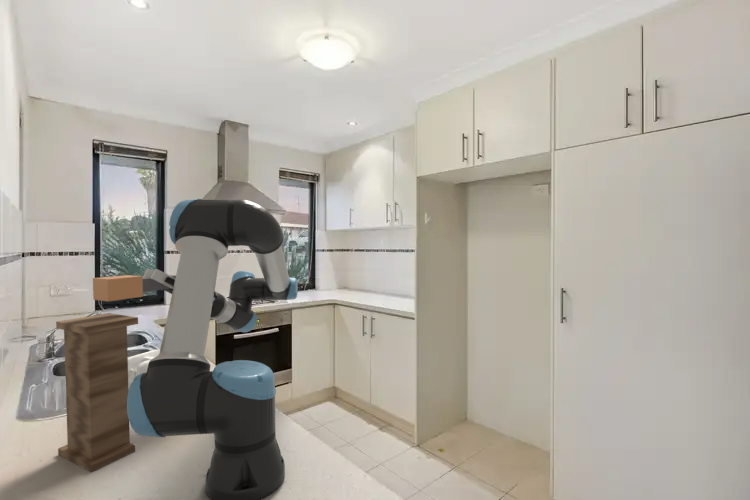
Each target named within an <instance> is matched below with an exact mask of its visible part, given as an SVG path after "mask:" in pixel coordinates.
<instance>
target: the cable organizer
mask: <svg viewBox="0 0 750 500" xmlns="http://www.w3.org/2000/svg"><path fill="white" fill-rule="evenodd" d="M159 353H160V349H152V350H150V351H146V352H143V353H137V354H135V355H132V356H128V390H129V388H130V385H131V383H132V382H133V379H134V378H135V377H136V376H137V375H139V374H142V373H146V372H147V369H148V364H149V361H150V360H152V359H153V358H155V357H156V356H158V355H159Z"/></svg>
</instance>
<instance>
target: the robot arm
mask: <svg viewBox="0 0 750 500" xmlns="http://www.w3.org/2000/svg"><path fill="white" fill-rule="evenodd" d="M170 214H171V215H170V217H169V223H168V224H169V227H170V228H169V229H168V230H169V231H168V233H169V238H170V241H171V242H172V243H173V244H174V246H175V249H176V251H177V252H178V253H179V255H180V256H179V260H178V263H177V264H178V265H177V268H176V273H175V275H176V278H174V277H172V276H170V275H171V274H168V273H166V272H164V271H162V270H160V269H158V268H155V269H154V270H153V269H151V268H146V270H145V272H144V274H143V275H142V278H149V277H151V279H153V280H155V281H157V282H159V283H161V284H163V285H165V286H167V287H169V288H170V289H163V290H160V291H163V292H167V293H169V294H171V296H170V303H169V307H168V311H167V314H166V315H167V317H166V320H165V326H164V331H163V335H162V339H161V343H160V349H159V350H160V353H159V355H158V356H156V357H155V358H153V359H152V360H150V361H149V364H148V369H147V372H146V373H142V374H139V375H137V376H136V377H135V378H134V379H133V382H132V383H131V385H130V388H129V391H128V397H127V414H128V419H129V426H131V429H132V430H133V432H134V433H136V434H137V435H138V436H142V437H158V438H165V437H171V436H172V437H175V436H188V435H189V436H190V435H207V434H208V435H209V434H213V435H214V448H213V449H214V450H213V453H212V456H211V460H210V466H209V468H208V470H207V471H206V475H205V493H206V495H207V497H208V498H209V499H210V500H262V499H265V498H266V497H268V496H269V495H271V494H272V493H274V492H275V491H277V490H278V489H279V487H281V486H282V483H283V482H284V480H285V476H286V467H285V465H286V464H285V460H284V458H283V455H282V453H281V449H280V447H279V444H278V441H277V436H276V393H277V390H276V387H275V386H276V384H275V374H274V372H273V370H272V369H271V367H269V366H268V365H266V364H265V363H263V362H259V361H254V360H247V359H246V360H245V359H244V360H243V359H239V360H238V359H236V360H232V361H224V362H223V361H222V362H220V363H218V364H216V365H215V366H214V368H213V370H212V371H211V363H210V361H208V359H207V358H206V357H205V354H206V347H207V340H208V335H209V328H210V320H211V319H212V320H213V321H216V322H215V323H216V324H220V323H221V324H223V325H225V326H227V327H229V328H231V329H233V330H234V331H238V332H241V333H248V332H251V331H252V330H254V328H255V327H256V325H257V322H258V316H257V314H256V312H254V310H252V305H253V301H254V302H255V301H289V300H296V299H297V298H298V291H299V290H298V288H299V286H298V279H297V277H291V276H290V275H289V272H288V271H289V270H288V267H287V262H286V258H285V254H284V250H283V246H282V245H283V243H284V234H283V229H282V227H281V225H280V223H279V222H278V220H277V219H276V218H275V217H274V215H273V214H272V213H271V212H269V210H267V209H266V208H265V207H263V206H262V205H260V204H258V203H257V202H253V201H252V200H251V201H250V200H247V199H242V198H241V199H239V198H238V199H203V198H194V199H185V200H181V201H180V202H178V203H177V204H176V205H175V206H174V208H173V210H172V212H171V213H170ZM238 246H242V247H243V246H246V247H248V248H249V250H250V251H252V252H253V253H254V254H255V257H256V259H257V262H258V265H259V268H260V270H261V273H262V276H263V277H256V275H255V274H254V273H253V272H251V271H246V270H237V271H236V272H234V273H233V275H232V277H231V282H230V285H229V294H228V297H226V296H225V295H223V294H221V293H219V292H218V291H215V290H216V284H217V278H218V277H217V276H218V271H219V265H220V260H222V259H223V258H225V257H226V256H227V254H228V251H229V250H228V249H229V247H238Z"/></svg>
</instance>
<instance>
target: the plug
mask: <svg viewBox="0 0 750 500" xmlns="http://www.w3.org/2000/svg"><path fill="white" fill-rule="evenodd" d="M169 275H170V276H172V277H174V278H176V274H174V275H173V274H172V275H171V274H169ZM163 289H170V288H169V287H167V286H165V285H163V284H161V283H159V282H157V281H155V280H153V279H151V277H149V278H143V275H131V274H130V275H129V274H126V275H116V276H114V275H113V276H107V277H105V276H102V277H92V293H93V294H92V296H93V300H95V301H102V302H114V301H121V300H128V299H136V298H142V297H144V293H145V292H155V291H161V290H163Z"/></svg>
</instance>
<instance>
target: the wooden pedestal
mask: <svg viewBox="0 0 750 500" xmlns="http://www.w3.org/2000/svg"><path fill="white" fill-rule="evenodd" d="M55 323H56V324H55V325H56V326H55V327H56V329H57V330H63V335H64V336H63V338H64V339H63V342H64V343H63V344H64V345H63V346H64V368H65V369H64V370H65V371H64V372H65V373H64V374H65V395H66V396H65V400H66V403H65V405H66V407H65V408H66V432H67V434H66V437H67V438H66V439H67V444H66V445H63V446H60V447H58V449H57V455H58V456H60V457H61V458H63V459H66V460H67V461H70V462H71V463H73V464H75V465H77V466H79V467H81V468H82V469H85V470H87V471H89V472H91V473H93V472H95V471H97V470H99V469H101V468H103V467H105V466H107V465H109V464H111V463H114V462H115V461H117V460H120V459H123V458H125V457H126V456H128V455H130V454H132V453H134V452H136V445H135V444H134V443H131V437H130V430H131V429H130V421H129V419H128V414H127V397H128V391H129V390H128V357H129V356H128V353H129V352H128V351H129V350H128V327H129V326H134V325H138V324H139V317H136V316H130V315H125V314H124V315H123V314H118V313H111V312H108V313H102V314H96V315H90V316H89V315H88V316H82V317H77V318H70V319H69V318H68V319H64V320H58V321H56V322H55Z"/></svg>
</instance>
